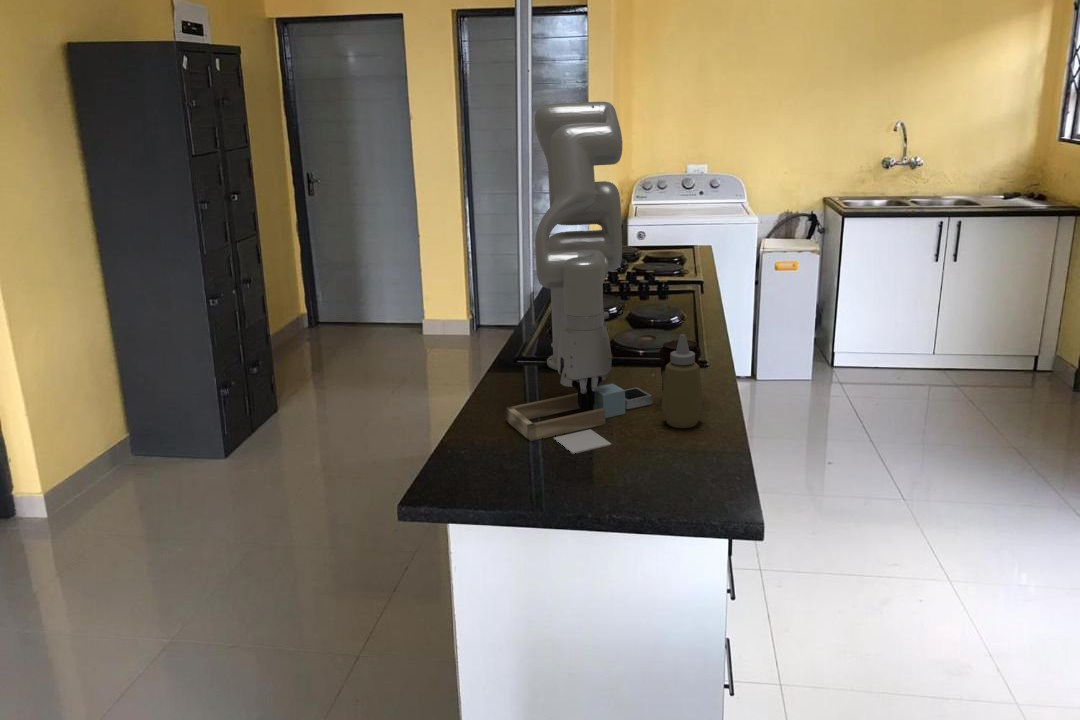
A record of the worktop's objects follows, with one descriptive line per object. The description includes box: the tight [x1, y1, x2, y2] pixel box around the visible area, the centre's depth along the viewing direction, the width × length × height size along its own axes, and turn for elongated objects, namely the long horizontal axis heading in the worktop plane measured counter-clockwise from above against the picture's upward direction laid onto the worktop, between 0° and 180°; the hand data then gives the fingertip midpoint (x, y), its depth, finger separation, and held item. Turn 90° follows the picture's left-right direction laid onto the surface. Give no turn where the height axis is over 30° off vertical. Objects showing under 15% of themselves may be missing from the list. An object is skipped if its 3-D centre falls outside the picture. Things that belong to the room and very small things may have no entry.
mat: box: [553, 428, 612, 455], centre depth 162 cm, size 8×8×1 cm
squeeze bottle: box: [661, 333, 704, 429], centre depth 166 cm, size 8×8×18 cm
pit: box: [624, 386, 653, 411], centre depth 180 cm, size 6×6×2 cm
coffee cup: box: [658, 339, 702, 392], centre depth 177 cm, size 9×8×13 cm
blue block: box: [594, 383, 626, 419], centre depth 175 cm, size 5×5×5 cm
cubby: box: [505, 392, 606, 442], centre depth 171 cm, size 11×16×3 cm
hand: (586, 409), depth 174 cm, fingers closed
